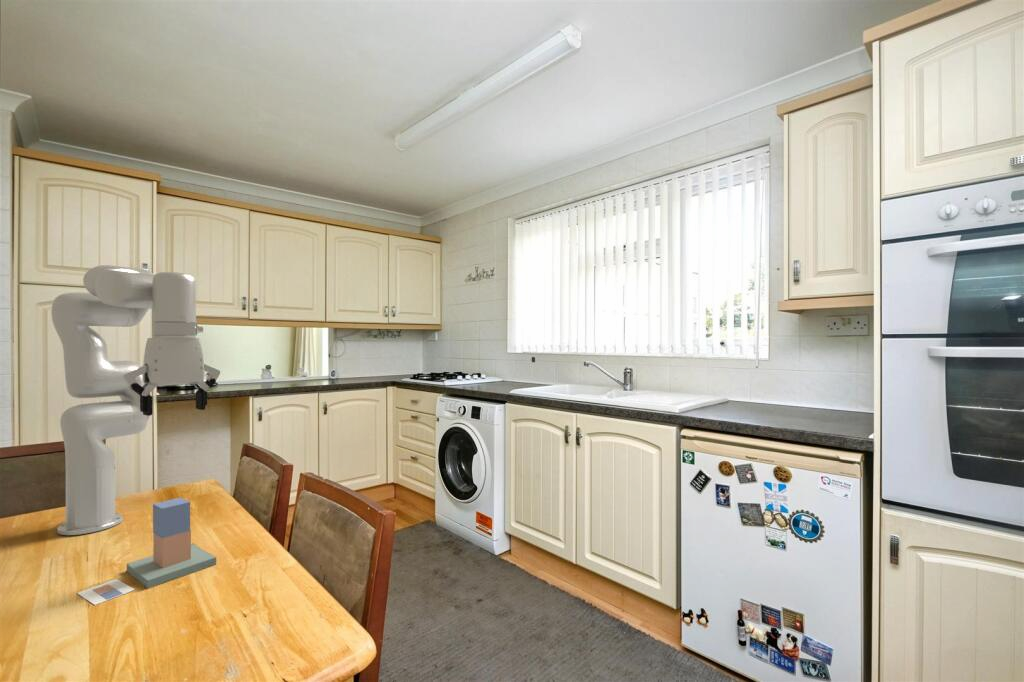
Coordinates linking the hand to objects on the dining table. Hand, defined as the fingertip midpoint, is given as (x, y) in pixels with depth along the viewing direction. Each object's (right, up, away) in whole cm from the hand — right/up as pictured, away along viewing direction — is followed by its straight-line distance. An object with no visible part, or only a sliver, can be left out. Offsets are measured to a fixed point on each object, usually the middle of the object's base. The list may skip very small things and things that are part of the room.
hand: (175, 412), depth 100 cm
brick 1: (0, -25, -1) cm, 25 cm away
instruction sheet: (-5, -32, -11) cm, 34 cm away
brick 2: (0, -31, -1) cm, 31 cm away
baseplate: (0, -32, -1) cm, 32 cm away
